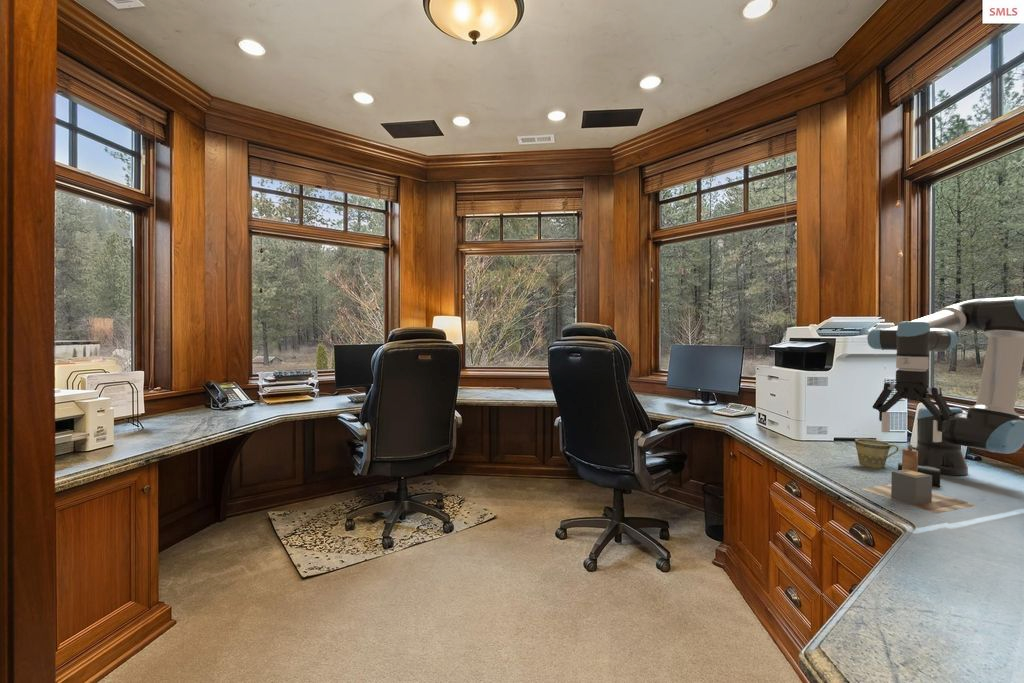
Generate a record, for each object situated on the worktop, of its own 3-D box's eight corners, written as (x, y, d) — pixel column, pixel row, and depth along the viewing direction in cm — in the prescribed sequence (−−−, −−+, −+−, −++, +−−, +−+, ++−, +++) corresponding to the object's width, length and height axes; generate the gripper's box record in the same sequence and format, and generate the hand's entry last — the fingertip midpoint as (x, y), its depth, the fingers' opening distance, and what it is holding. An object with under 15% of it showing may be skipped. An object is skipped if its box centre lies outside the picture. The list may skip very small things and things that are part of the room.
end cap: (897, 484, 141) (898, 464, 141) (898, 479, 146) (898, 459, 146) (940, 492, 134) (940, 471, 134) (939, 486, 139) (939, 466, 139)
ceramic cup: (862, 471, 155) (863, 444, 154) (849, 463, 164) (850, 437, 164) (905, 474, 151) (906, 446, 151) (890, 466, 160) (890, 440, 160)
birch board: (898, 486, 139) (898, 482, 139) (976, 509, 121) (976, 504, 121) (860, 492, 133) (860, 488, 133) (936, 517, 115) (936, 512, 115)
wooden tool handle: (906, 485, 137) (907, 443, 136) (919, 489, 133) (920, 446, 133) (898, 486, 136) (899, 444, 135) (912, 490, 132) (913, 447, 132)
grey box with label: (906, 495, 128) (907, 468, 128) (931, 502, 122) (932, 474, 122) (891, 497, 126) (891, 470, 126) (915, 505, 120) (916, 477, 120)
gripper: (860, 367, 144) (859, 428, 145) (955, 373, 121) (953, 447, 121) (875, 366, 147) (874, 427, 147) (972, 373, 123) (969, 445, 123)
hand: (910, 436), depth 134 cm, fingers open, 13 cm apart
